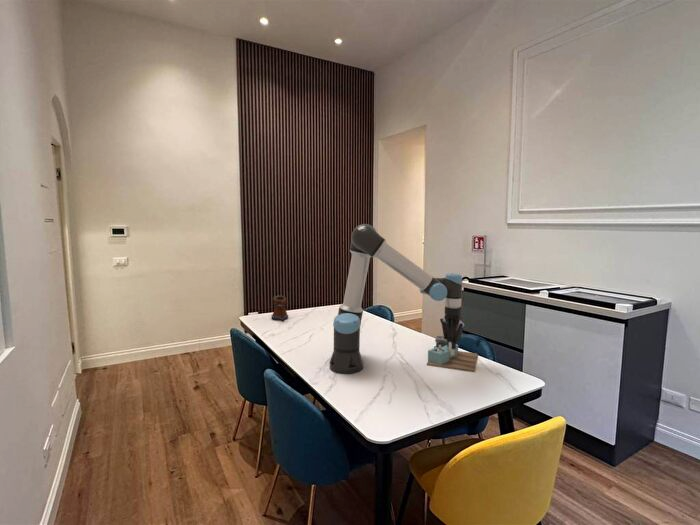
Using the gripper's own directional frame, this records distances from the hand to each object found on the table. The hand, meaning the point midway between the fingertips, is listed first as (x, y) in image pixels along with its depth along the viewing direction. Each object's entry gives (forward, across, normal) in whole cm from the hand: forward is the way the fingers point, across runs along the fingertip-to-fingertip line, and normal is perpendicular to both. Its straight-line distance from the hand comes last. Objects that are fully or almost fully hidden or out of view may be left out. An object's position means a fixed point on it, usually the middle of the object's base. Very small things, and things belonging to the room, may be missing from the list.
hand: (451, 354), depth 182 cm
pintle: (+3, +1, +8) cm, 8 cm away
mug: (+2, +114, +30) cm, 118 cm away
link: (+2, +2, +2) cm, 4 cm away
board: (+3, 0, -1) cm, 3 cm away
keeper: (+2, +8, -4) cm, 9 cm away
